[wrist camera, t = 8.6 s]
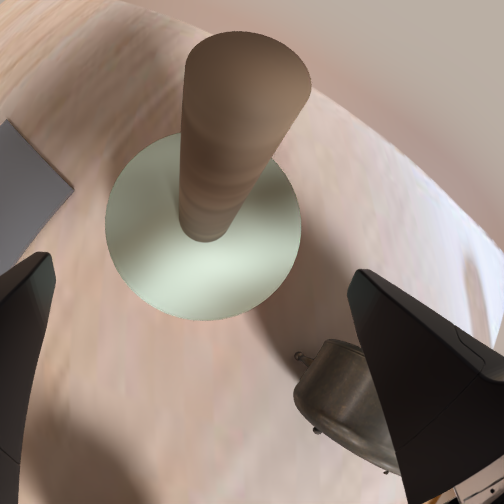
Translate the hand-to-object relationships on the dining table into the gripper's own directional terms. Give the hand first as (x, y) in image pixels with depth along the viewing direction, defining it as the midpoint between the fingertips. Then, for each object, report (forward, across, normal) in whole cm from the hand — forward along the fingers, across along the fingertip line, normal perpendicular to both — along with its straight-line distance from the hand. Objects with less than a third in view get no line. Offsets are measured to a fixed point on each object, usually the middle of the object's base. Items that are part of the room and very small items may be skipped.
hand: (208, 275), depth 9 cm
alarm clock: (+4, -11, +14) cm, 18 cm away
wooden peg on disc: (+9, -1, +3) cm, 10 cm away
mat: (+14, +17, +5) cm, 22 cm away
